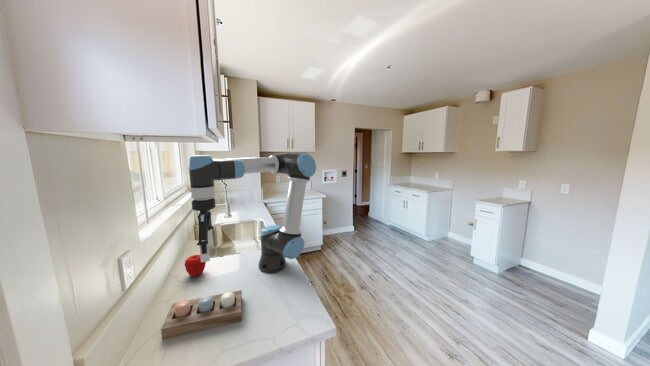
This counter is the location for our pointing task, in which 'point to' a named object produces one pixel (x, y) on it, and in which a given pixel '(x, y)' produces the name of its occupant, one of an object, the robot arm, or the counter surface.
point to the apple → (194, 265)
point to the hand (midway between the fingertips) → (207, 253)
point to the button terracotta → (182, 309)
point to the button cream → (227, 300)
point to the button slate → (205, 304)
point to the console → (202, 317)
